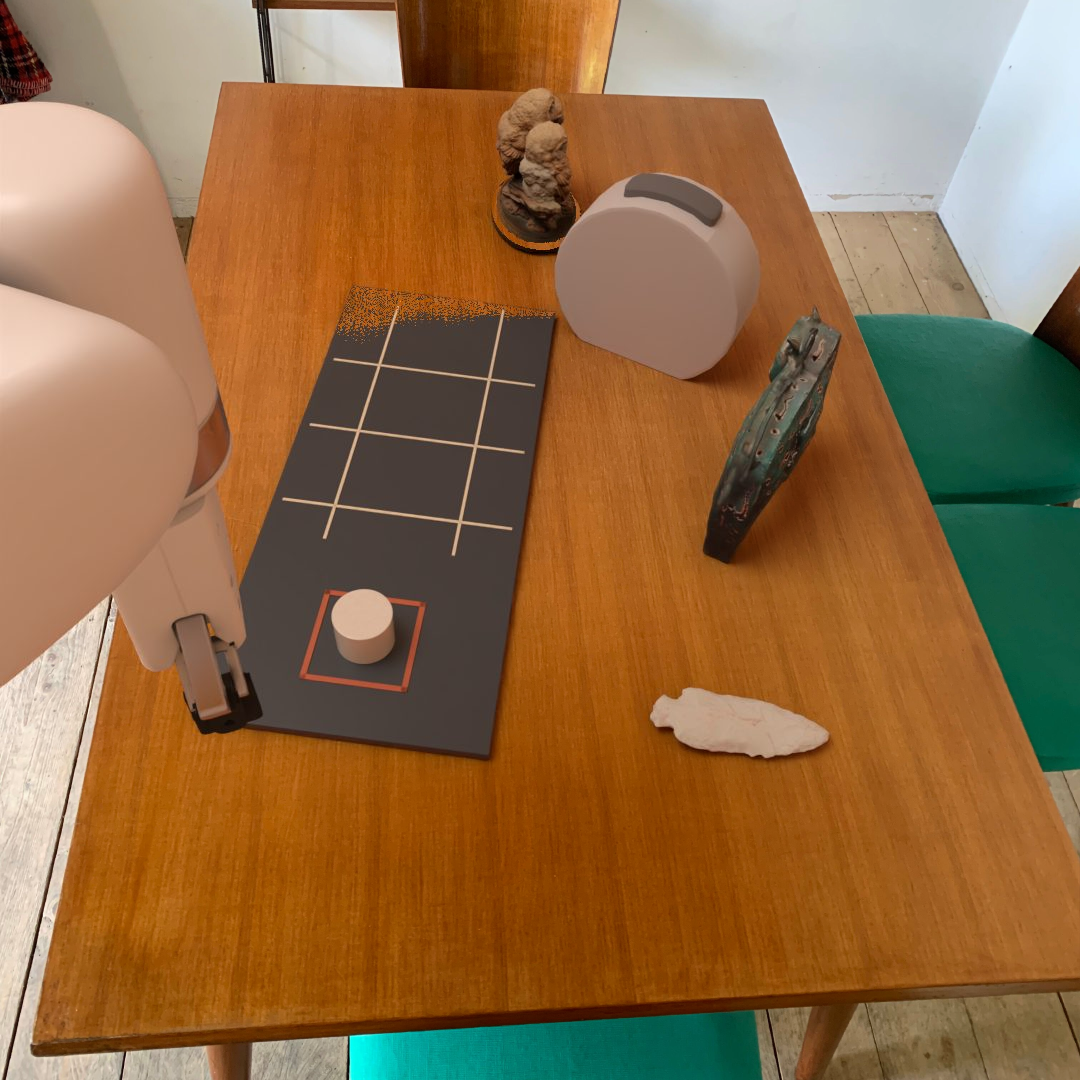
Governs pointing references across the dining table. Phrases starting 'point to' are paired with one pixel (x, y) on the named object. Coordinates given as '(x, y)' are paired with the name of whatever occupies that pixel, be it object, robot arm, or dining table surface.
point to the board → (400, 530)
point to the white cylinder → (363, 626)
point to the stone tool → (736, 724)
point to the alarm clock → (659, 274)
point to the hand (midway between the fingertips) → (215, 646)
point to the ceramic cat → (773, 433)
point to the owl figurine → (535, 171)
